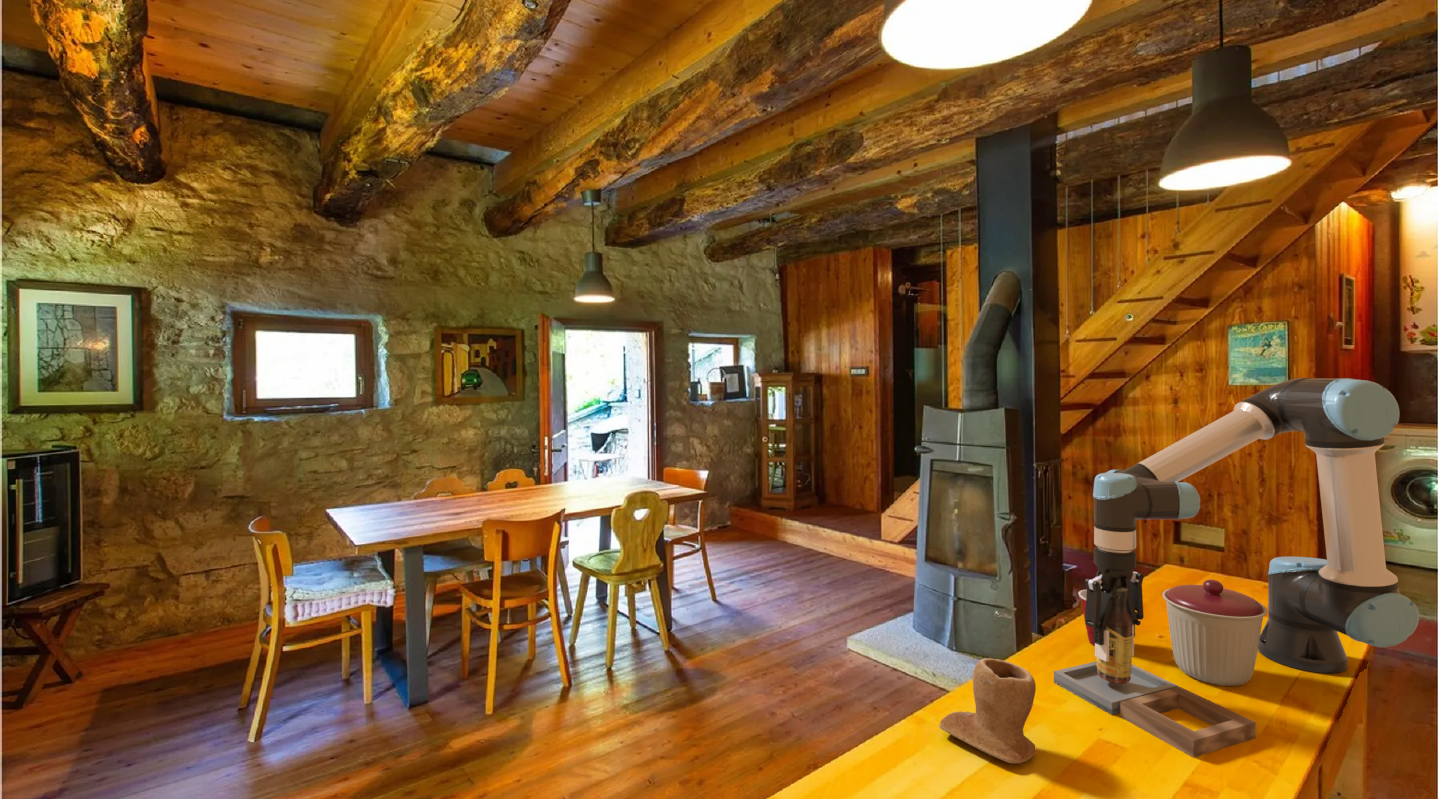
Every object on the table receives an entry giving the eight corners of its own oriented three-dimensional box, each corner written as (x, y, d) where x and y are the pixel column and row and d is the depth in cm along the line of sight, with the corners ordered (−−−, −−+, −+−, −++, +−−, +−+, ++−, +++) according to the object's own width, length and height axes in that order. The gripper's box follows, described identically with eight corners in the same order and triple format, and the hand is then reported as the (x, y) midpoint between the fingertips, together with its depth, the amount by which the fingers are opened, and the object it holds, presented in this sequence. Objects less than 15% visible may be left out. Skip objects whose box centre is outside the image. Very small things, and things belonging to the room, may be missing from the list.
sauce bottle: (1090, 672, 138) (1090, 581, 137) (1117, 670, 139) (1117, 580, 138) (1111, 687, 132) (1111, 592, 131) (1139, 685, 132) (1140, 590, 131)
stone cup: (1050, 750, 115) (1050, 669, 114) (1014, 776, 108) (1013, 690, 107) (974, 714, 127) (973, 641, 127) (937, 736, 121) (936, 658, 120)
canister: (1243, 661, 146) (1244, 570, 145) (1283, 701, 129) (1285, 598, 128) (1151, 652, 152) (1151, 564, 151) (1178, 689, 135) (1178, 590, 134)
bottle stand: (1179, 700, 130) (1179, 686, 130) (1255, 738, 117) (1255, 722, 117) (1120, 716, 125) (1120, 701, 125) (1193, 757, 112) (1193, 740, 112)
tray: (1116, 667, 145) (1116, 656, 145) (1177, 697, 131) (1177, 685, 131) (1053, 682, 139) (1053, 671, 139) (1111, 715, 126) (1111, 702, 126)
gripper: (1131, 538, 140) (1131, 641, 141) (1063, 548, 134) (1064, 656, 135) (1165, 546, 133) (1164, 655, 134) (1095, 558, 127) (1095, 672, 128)
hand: (1114, 655), depth 135 cm, fingers closed on sauce bottle, 6 cm apart
